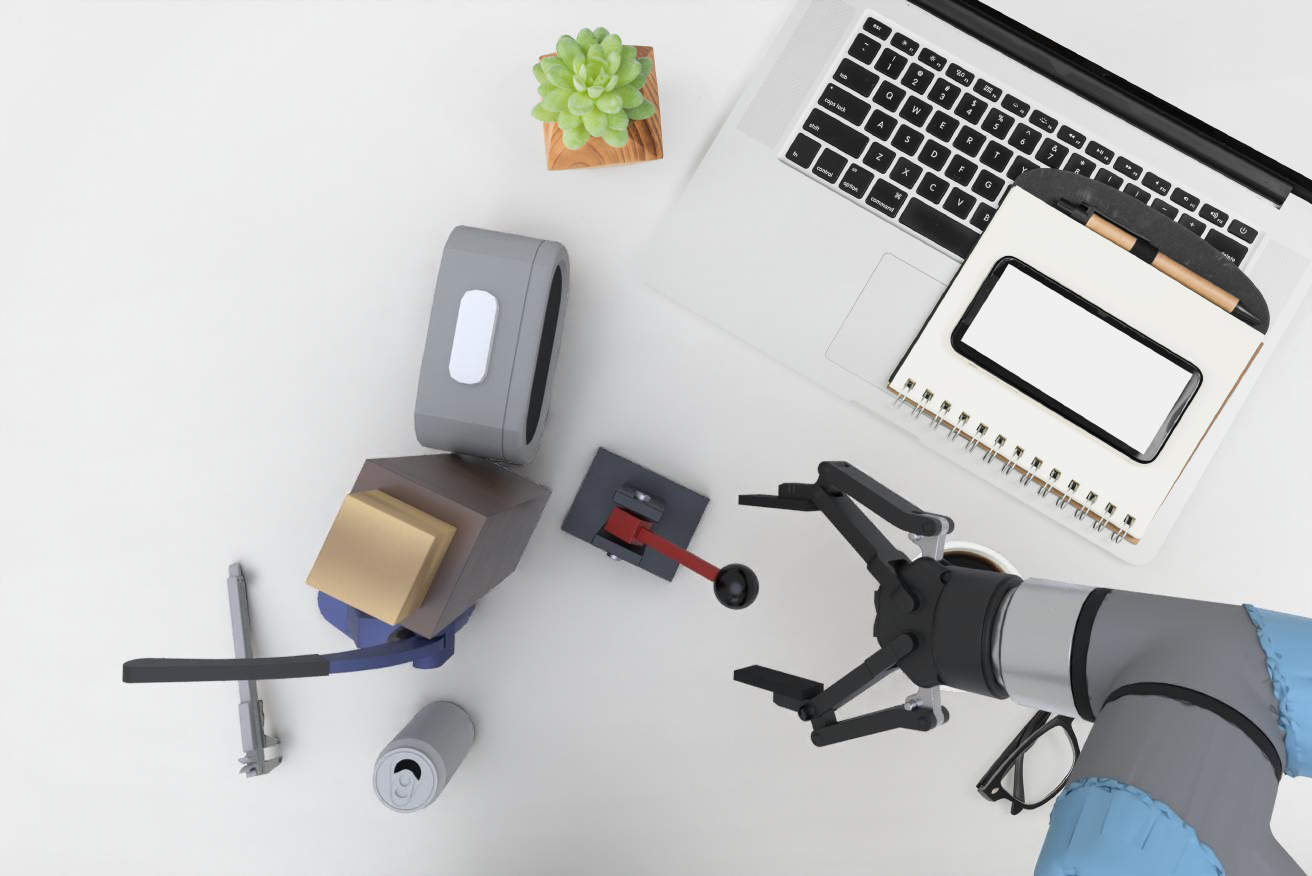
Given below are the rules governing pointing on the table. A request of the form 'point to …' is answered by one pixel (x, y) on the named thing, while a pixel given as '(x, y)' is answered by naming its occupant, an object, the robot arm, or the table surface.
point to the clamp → (369, 633)
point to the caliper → (248, 685)
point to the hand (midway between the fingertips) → (746, 585)
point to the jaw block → (381, 555)
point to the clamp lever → (688, 560)
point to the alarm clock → (492, 345)
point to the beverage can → (422, 758)
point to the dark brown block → (461, 524)
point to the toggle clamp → (634, 510)
